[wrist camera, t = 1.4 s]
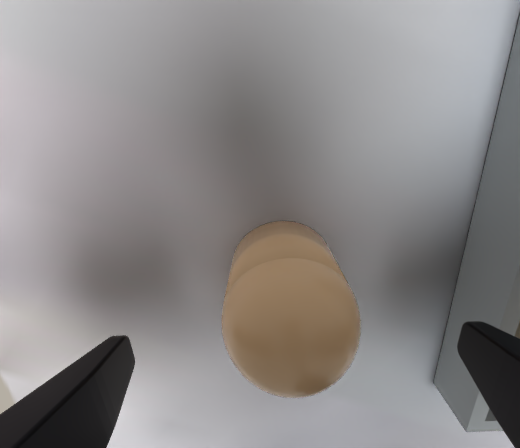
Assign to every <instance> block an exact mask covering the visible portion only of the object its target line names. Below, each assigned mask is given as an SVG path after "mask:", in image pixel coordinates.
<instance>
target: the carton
mask: <svg viewBox="0 0 520 448" xmlns="http://www.w3.org/2000/svg"><path fill="white" fill-rule="evenodd" d="M467 321H482V322H485V323H487V324H489V325H492V326H494V327H496V328H498V329H500V330H502V331H504V332H506V333H509V334H511V335H513V336H515V337H517V338H519V339H520V16H519V20H518V25H517V29H516V33H515V38H514V42H513V46H512V50H511V55H510V59H509V63H508V67H507V72H506V76H505V80H504V84H503V89H502V93H501V97H500V101H499V106H498V110H497V114H496V118H495V123H494V127H493V131H492V135H491V140H490V144H489V148H488V153H487V157H486V161H485V165H484V170H483V174H482V178H481V182H480V187H479V191H478V195H477V199H476V204H475V208H474V212H473V216H472V221H471V225H470V229H469V233H468V238H467V242H466V246H465V250H464V255H463V259H462V263H461V268H460V272H459V276H458V280H457V285H456V289H455V293H454V297H453V302H452V306H451V310H450V314H449V319H448V323H447V327H446V331H445V336H444V340H443V344H442V348H441V353H440V357H439V361H438V365H437V370H436V374H435V378H434V384H435V386H436V387H437V389H438V390H439V392H440V393H441V395H442V396H443V398H444V399H445V401H446V402H447V404H448V405H449V407H450V408H451V410H452V411H453V413H454V414H455V416H456V417H457V419H458V420H459V422H460V423H461V425H462V426H463V428H464V429H465V431H466V432H480V431H503V429H502V428H501V426H500V425H499V423H498V422H497V420H496V418H495V417H494V415H493V414H492V412H491V410H490V409H489V407H488V405H487V404H486V402H485V400H484V398H483V397H482V395H481V393H480V391H479V389H478V388H477V386H476V384H475V382H474V381H473V379H472V377H471V375H470V374H469V372H468V370H467V368H466V367H465V365H464V363H463V361H462V360H461V358H460V356H459V354H458V350H457V343H458V339H459V335H460V331H461V327H462V325H463V324H464V322H467Z"/></svg>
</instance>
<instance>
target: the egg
mask: <svg viewBox="0 0 520 448" xmlns="http://www.w3.org/2000/svg"><path fill="white" fill-rule="evenodd" d="M221 324H222V335H223V339H224V343H225V347H226V349H227V352H228V354H229V356H230V358H231V360H232V362H233V364H234V365H235V367H236V368H237V369H238V370H239V372H240V373H241V374H242V375H243V376H244V377H245V378H246V379H247V380H248V381H249V382H251V383H252V384H253V385H255V386H256V387H257V388H259V389H261V390H263V391H265V392H267V393H270V394H273V395H276V396H280V397H285V398H303V397H308V396H312V395H315V394H318V393H320V392H322V391H324V390H326V389H327V388H329V387H331V386H332V385H334V384H335V383H336V382H337V381H338V380H339V379H340V378H341V377H342V376H343V375H344V374H345V372H346V371H347V370H348V368H349V367H350V365H351V364H352V362H353V360H354V357H355V355H356V353H357V350H358V346H359V341H360V335H361V319H360V313H359V308H358V304H357V301H356V299H355V296H354V294H353V292H352V290H351V288H350V286H349V284H348V282H347V281H346V279H345V277H344V275H343V273H342V271H341V270H340V268H339V266H338V264H337V262H336V260H335V259H334V257H333V255H332V253H331V251H330V249H329V248H328V246H327V244H326V242H325V241H324V240H323V238H322V237H321V236H320V235H319V234H318V233H317V232H315V231H314V230H313V229H311V228H309V227H308V226H305V225H303V224H300V223H296V222H291V221H276V222H270V223H266V224H264V225H261V226H259V227H257V228H255V229H254V230H252V231H251V232H249V233H248V234H247V235H246V236H245V237H244V238H243V239H242V240H241V241H240V243H239V244H238V246H237V248H236V250H235V252H234V256H233V260H232V264H231V269H230V274H229V279H228V284H227V289H226V293H225V298H224V303H223V309H222V318H221Z"/></svg>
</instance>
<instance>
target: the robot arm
mask: <svg viewBox="0 0 520 448" xmlns="http://www.w3.org/2000/svg"><path fill="white" fill-rule="evenodd" d="M457 350H458V354H459V356H460V358H461V360H462V361H463V363H464V365H465V367H466V368H467V370H468V372H469V374H470V375H471V377H472V379H473V381H474V382H475V384H476V386H477V388H478V389H479V391H480V393H481V395H482V397H483V398H484V400H485V402H486V404H487V405H488V407H489V409H490V410H491V412H492V414H493V415H494V417H495V418H496V420H497V422H498V423H499V425H500V426H501V428H502V429H503V431H504V432H505V434H506V435H507V437H508V438H509V439H510V441H511V442H512V444H513V445H514V447H515V448H520V339H519V338H517V337H515V336H513V335H511V334H509V333H506V332H504V331H502V330H500V329H498V328H496V327H494V326H492V325H489V324H487V323H485V322H482V321H467V322H464V324H463V325H462V327H461V331H460V335H459V339H458V343H457ZM134 365H135V357H134V354H133V350H132V347H131V343H130V340H129V338H128V337H127V336H125V335H123V336H112V337H110V338H108V339H107V340H105V341H104V342H102V343H101V344H99V345H98V346H97V347H95V348H94V349H92V350H91V351H90V352H88V353H87V354H85V355H84V356H82V357H81V358H80V359H78V360H77V361H75V362H74V363H72V364H71V365H70V366H68V367H67V368H65V369H64V370H63V371H61V372H60V373H58V374H57V375H55V376H54V377H53V378H51V379H50V380H48V381H47V382H45V383H44V384H43V385H41V386H40V387H38V388H37V389H36V390H34V391H33V392H31V393H30V394H28V395H27V396H26V397H24V398H23V399H21V400H20V401H18V402H17V403H16V404H14V405H13V406H11V407H10V408H9V409H8V410H6V411H4V412H3V413H1V414H0V448H106V447H107V445H108V443H109V440H110V438H111V435H112V433H113V430H114V427H115V425H116V422H117V419H118V416H119V413H120V410H121V406H122V403H123V400H124V397H125V394H126V391H127V388H128V385H129V382H130V379H131V375H132V372H133V369H134Z"/></svg>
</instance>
